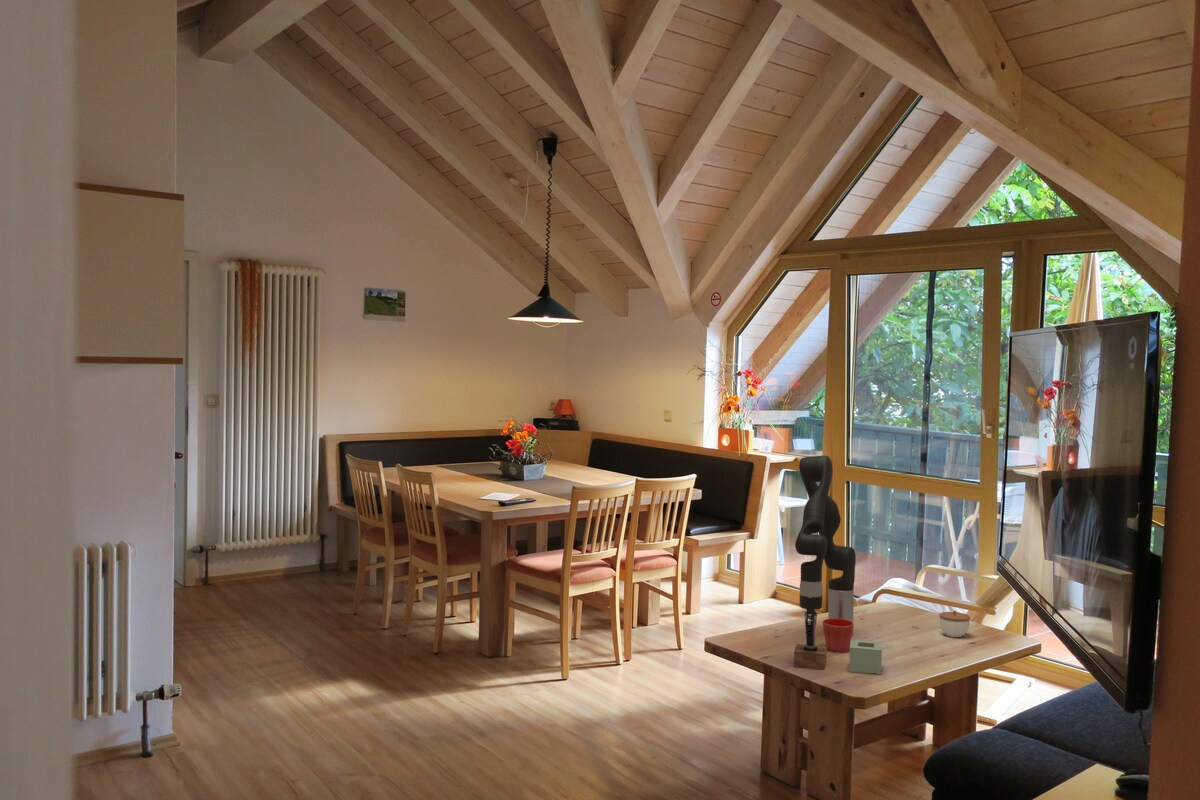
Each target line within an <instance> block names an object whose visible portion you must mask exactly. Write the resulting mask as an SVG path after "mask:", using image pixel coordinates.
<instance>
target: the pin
mask: <svg viewBox="0 0 1200 800" xmlns="http://www.w3.org/2000/svg"><path fill="white" fill-rule="evenodd" d="M813 625H814V624H813ZM808 631H812V630H811V629H808ZM805 645H806V651H815V645H816V628H814V645H813V646H807V635H806V634H805Z"/></svg>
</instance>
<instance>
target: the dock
mask: <svg viewBox="0 0 1200 800" xmlns="http://www.w3.org/2000/svg"><path fill="white" fill-rule="evenodd" d="M882 647H883V643H882V641H872V640H871V641H870V640H859V639H851V643H850V648H849V673H860V674H868V673H876V674H875V675H879V674H881V675H882V667H883V666H882V662H883V661H882V658H883V657H882V656H883V654H882V653H883V652H882V649H883V648H882Z"/></svg>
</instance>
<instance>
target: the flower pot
mask: <svg viewBox="0 0 1200 800" xmlns="http://www.w3.org/2000/svg"><path fill="white" fill-rule="evenodd" d="M822 629H823V633H824V640H825V646H827V650H829V651H832V652H834V653H835V652H836V653H837V652H838V653H846V652H848V651H850V643H851V640H852V636H853V635H852V632H853V633H854V621H853V622H852V621H849V620H846V619H837V618H833V619H828V618H826V619H823V620H822Z"/></svg>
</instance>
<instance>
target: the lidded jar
mask: <svg viewBox="0 0 1200 800" xmlns="http://www.w3.org/2000/svg"><path fill="white" fill-rule="evenodd" d="M970 619H971V617H970V615H969V614H967V613H964V612H957V611H956V610H952V611H943V612H939V625H940V629H941V631H942V632H943V633H944V634H945V636H946V635H947V636H946V637H948V636H950V638H953V637H961V638H963V637H964V636H965V635H966V634H967V633H968V631H969V627H970ZM962 636H963V637H962Z"/></svg>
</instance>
